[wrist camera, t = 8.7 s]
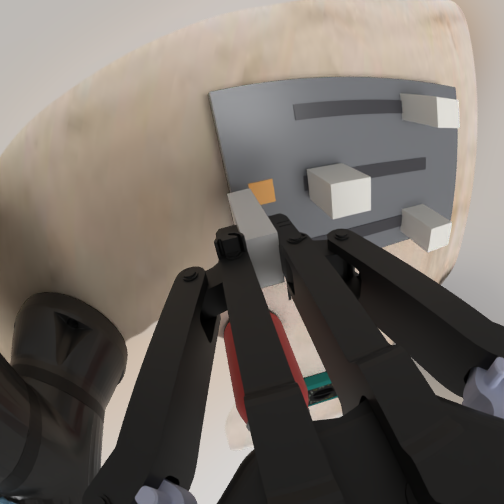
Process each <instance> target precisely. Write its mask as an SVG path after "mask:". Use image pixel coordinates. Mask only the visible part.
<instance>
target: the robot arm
mask: <svg viewBox="0 0 504 504" xmlns="http://www.w3.org/2000/svg"><path fill="white" fill-rule="evenodd" d="M227 196H228V200H229V205H230V209H231V213H232V218H233V222H234V225H233V226H229V227H225V228H221V229H218V231H217V233H216V239H215V241H214V245H215V248H216V252H217V255H218V259H219V262H218V263H217V264H216V265H215V266H214V267H213V268H211V269H209V270H207V271H205V270H204V269H203V268H201V267H190V268H186V269H184V270H183V271H181V272H180V273H179V274H178V275H177V277H176V279H175V281H174V284H173V286H172V288H171V291H170V293H169V296H168V298H167V300H166V303H165V305H164V308H163V310H162V313H161V315H160V318H159V321H158V323H157V326H156V328H155V331H154V333H153V336H152V339H151V342H150V344H149V347H148V350H147V352H146V355H145V358H144V361H143V363H142V366H141V369H140V372H139V375H138V378H137V380H136V383H135V386H134V389H133V392H132V395H131V398H130V401H129V404H128V408H127V411H126V414H125V417H124V421H123V424H122V427H121V430H120V434H119V437H118V441H117V444H116V447H115V449H114V450H113V452H112V453H111V455H110V456H109V458H108V459H107V460H106V462H105V463H104V465H103V466H102V467H101V450H102V436H103V423H104V414H105V409H106V407H107V405H108V403H109V401H110V399H111V397H112V395H113V393H114V391H115V388H116V386H117V385H118V384H119V383H120V381H121V380H122V378H123V377H124V374H125V369H126V363H127V355H128V354H127V347H126V344H125V342H124V339H123V338H122V336H121V334H120V333H119V331H118V330H117V329H116V328H115V326H114V325H113V324H112V323H111V322H110V321H109V320H108V319H107V318H106V317H104V316H103V315H102V314H101V313H99V312H98V311H97V310H95V309H94V308H92V307H90V306H89V305H87V304H85V303H83V302H81V301H79V300H77V299H74V298H72V297H69V296H66V295H62V294H57V293H40V294H36V295H34V296H32V297H30V298H29V299H27V300H26V301H25V303H24V304H23V306H22V308H21V309H20V311H19V313H18V315H17V317H16V320H15V325H14V334H13V341H12V351H11V363H10V364H9V363H8V362H7V361H6V359H5V358H4V357H3V356H2V355H1V353H0V504H197V501H196V499H195V497H194V496H193V495H192V494H191V493H190V492H189V489H190V486H191V483H192V481H193V478H194V474H195V469H196V465H197V458H198V452H199V445H200V439H201V432H202V425H203V419H204V413H205V406H206V401H207V395H208V388H209V383H210V376H211V371H212V365H213V359H214V353H215V347H216V342H217V336H218V330H219V325H220V319H221V317H220V314H221V313H223V312H225V311H227V310H228V314H229V320H230V325H231V330H232V335H233V340H234V346H235V351H236V355H237V360H238V365H239V370H240V375H241V380H242V384H243V389H244V395H245V396H244V404H245V409H246V414H247V418H248V423H249V427H250V432H251V436H252V440H253V445H254V450H253V451H251V453H249V455H248V456H246V458H245V459H244V460H243V461H242V463H241V464H240V466H239V468H238V469H237V471H236V473H235V474H234V476H233V478H232V480H231V481H230V483H229V485H228V486H227V488H226V490H225V491H224V493H223V495H222V497H221V498H220V499H219V501H218V503H217V504H504V326H502V325H499V324H497V323H494V322H492V321H490V320H489V319H488V318H486V317H485V316H484V315H482V314H481V313H480V312H478V311H477V310H476V309H474V308H473V307H471V306H470V305H469V304H467V303H466V302H464V301H463V300H462V299H460V298H459V297H457V296H456V295H454V294H453V293H451V292H450V291H448V290H447V289H446V288H444V287H443V286H441V285H440V284H438V283H437V282H435V281H433V280H432V279H430V278H429V277H427V276H426V275H424V274H423V273H421V272H420V271H418V270H416V269H415V268H413V267H412V266H410V265H408V264H407V263H405V262H404V261H402V260H400V259H399V258H397V257H396V256H394V255H392V254H391V253H389V252H387V251H386V250H384V249H382V248H381V247H379V246H377V245H375V244H374V243H372V242H370V241H369V240H367V239H365V238H363V237H362V236H360V235H358V234H356V233H355V232H353V231H350V230H348V229H336V230H332V231H331V232H329V233H328V235H327V240H312V239H311V238H310V237H309V236H308V235H307V234H305V233H302V232H299V231H298V230H297V228H296V227H295V226H294V225H293V224H292V222H291V221H290V219H289V218H288V217H287V216H286V215H284V214H281V213H279V214H275V215H271V216H267V215H266V213H265V211H264V210H263V208H262V207H261V205H260V204H259V202H258V200H257V199H256V197H255V196H254V194H253V192H252V191H251V189H250V188H249V189H244V190H240V191H236V192H232V193H228V194H227ZM355 268H356V269H357V270H358V271H359V274H358V273H356V272H355ZM284 276H285V278H286V281H287V289H288V297H289V300H291V297H292V299H293V301H294V303H295V305H296V307H297V309H298V311H299V313H300V316H301V318H302V320H303V322H304V324H305V326H306V328H307V331H308V333H309V335H310V337H311V339H312V341H313V343H314V346H315V348H316V350H317V352H318V354H319V356H320V359H321V361H322V363H323V365H324V367H325V369H326V372H327V374H328V376H329V378H330V380H331V383H332V385H333V387H334V389H335V391H336V394H337V396H338V398H339V400H340V403H341V406H342V413H343V416H342V417H339V418H334V419H326V420H317V421H312V418H311V416H310V413H309V410H308V408H307V405H306V402H305V400H304V397H303V394H302V392H301V389H300V387H299V385H298V383H297V382H295V380H294V377H293V375H292V372H291V369H290V367H289V364H288V361H287V358H286V356H285V353H284V350H283V347H282V345H281V342H280V339H279V336H278V334H277V331H276V328H275V325H274V323H273V320H272V317H271V314H270V312H269V309H268V306H267V303H266V301H265V298H264V295H263V292H262V289H261V288H264V287H268V286H271V285H275V284H279V283H282V282H285V281H284ZM377 327H378V328H379V329H380V330H381V331H382V332H383V333H385V334H386V335H387V336H388V337H389V338H390V339H391V340H392V341H394V342H395V343H396V345H390V344H389V343H388V342H387V341H386V339H385V338H384V336H383V335H382V333H381V332H380V330H379V329H378V328H377ZM411 357H412V358H413V359H414V360H415V361H416V362H417V363H418V364H419V365H420V366H422V367H423V368H424V369H425V370H426V371H427V372H428V373H429V374H430V375H431V376H433V377H434V378H435V379H436V380H437V381H438V382H439V383H441V384H442V385H443V386H444V387H445V388H447V389H448V390H450V391H451V392H453V393H454V394H456V395H458V396H460V397H462V398H463V399H464V401H463V402H462V405H461V404H458V403H456V402H453V401H450V400H447V399H445V398H442V397H439V396H437V395H435V393H434V392H433V390H432V389H431V387H430V386H429V384H428V382H427V381H426V379H425V378H424V376H423V375H422V373H421V372H420V371H419V369H418V368H417V366H416V364H415V363H414V362H413V360H412V359H411Z"/></svg>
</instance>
